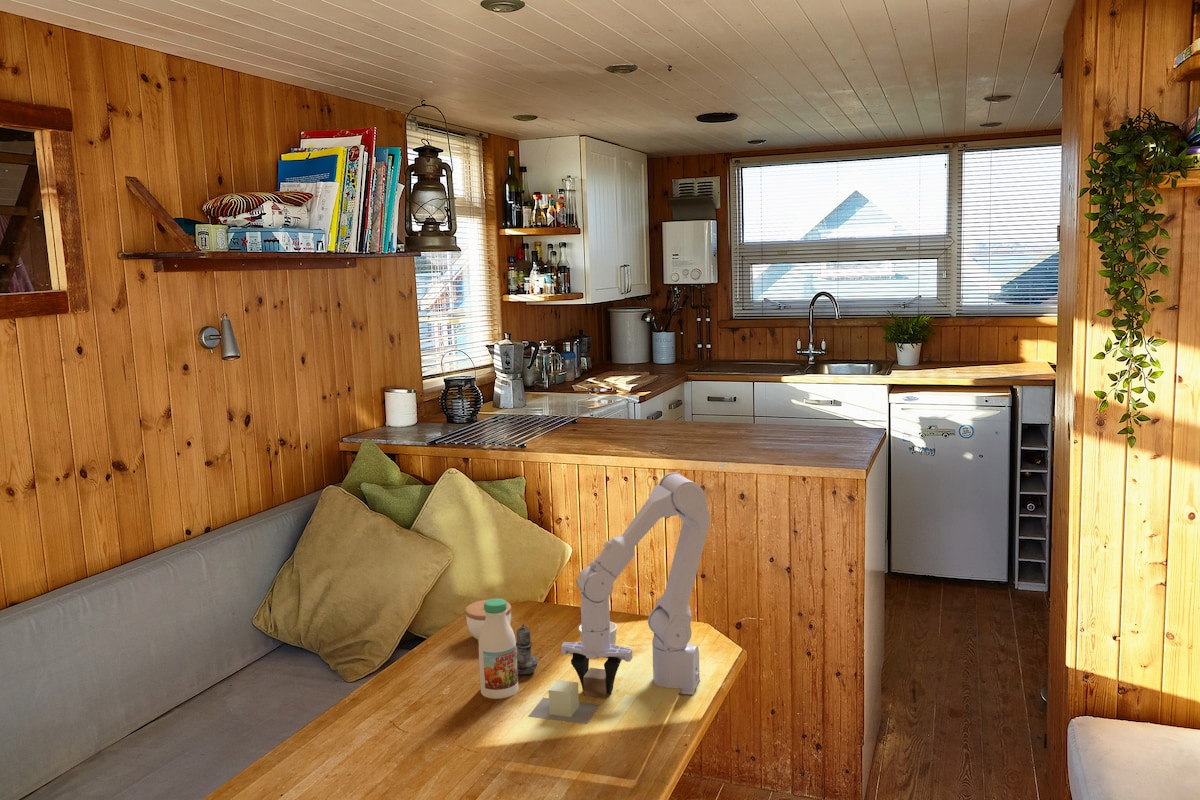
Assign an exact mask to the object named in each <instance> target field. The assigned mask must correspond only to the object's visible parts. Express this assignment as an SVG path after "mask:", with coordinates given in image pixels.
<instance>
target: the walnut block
mask: <svg viewBox="0 0 1200 800" xmlns="http://www.w3.org/2000/svg"><path fill="white" fill-rule="evenodd" d="M583 685H584V691H583V697H588V698H589V697H591V698H598V699H606V698H607V696H608V695H609V694H607V690H606V673H605V668H595V667H590V668H589V670H588V671H587V673H586V674H585V675H584V677H583Z"/></svg>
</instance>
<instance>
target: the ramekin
mask: <svg viewBox="0 0 1200 800" xmlns="http://www.w3.org/2000/svg"><path fill="white" fill-rule="evenodd" d="M617 629H618V625H617V623H616V622H613V621H611V620H610V644H613V645H616V641H617ZM578 631H579V632H578V633H579V636H580V642H582V626H581V624H580V625H579V626H578Z"/></svg>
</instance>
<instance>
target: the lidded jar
mask: <svg viewBox="0 0 1200 800" xmlns="http://www.w3.org/2000/svg"><path fill="white" fill-rule="evenodd" d="M490 599H491V598H489V599H482V600H477V601H475V602H472V603H470V604H468V605H467V606H466V608H465V615H466V616H465V617H466V623H467V624H466V625H467V628H468V631H469V632H470V635H471V636H472V637H473V638H474V639H476V641H477V642H478V643H479V637H480V633H481V630H482V628H483V625H484V622H485V618H486V614H485V613H484V611H485V610H484V603H485V602H486V601H487V600H490ZM506 603H507V612H506V617H507V620H508V622H509V624H510V625H511V622H512V605H511V604H510V602H508V601H506Z"/></svg>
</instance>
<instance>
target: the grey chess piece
mask: <svg viewBox="0 0 1200 800" xmlns="http://www.w3.org/2000/svg"><path fill="white" fill-rule="evenodd" d="M520 626H521V627H518V629H517V630H516V651H517V670H518V675H530V674H533V672H534V671H535V670H536V668H537V666H538V663H539V657H537V656H535V655H533V654H532V646H533V642H532V641H531V630H530V628H529V627H526V626H525V623H522V624H521V625H520Z"/></svg>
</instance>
